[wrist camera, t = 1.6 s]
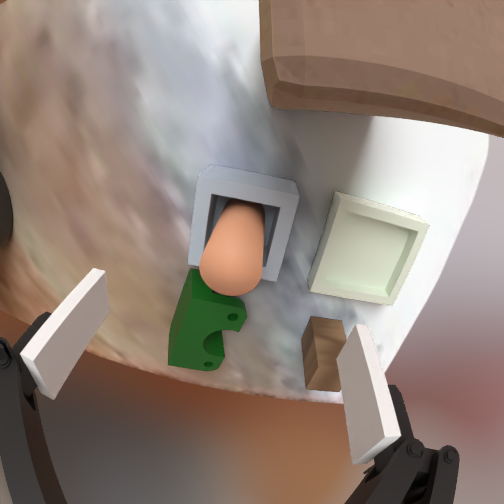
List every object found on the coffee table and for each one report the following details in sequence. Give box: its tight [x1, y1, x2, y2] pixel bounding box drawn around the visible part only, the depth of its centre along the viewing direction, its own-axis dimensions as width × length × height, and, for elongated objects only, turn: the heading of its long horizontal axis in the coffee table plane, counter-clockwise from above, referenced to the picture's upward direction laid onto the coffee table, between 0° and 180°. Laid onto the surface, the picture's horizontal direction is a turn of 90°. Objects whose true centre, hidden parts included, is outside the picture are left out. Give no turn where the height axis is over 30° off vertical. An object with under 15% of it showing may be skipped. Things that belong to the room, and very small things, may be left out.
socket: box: [188, 164, 300, 282], centre depth 26 cm, size 8×8×5 cm
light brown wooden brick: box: [301, 316, 347, 392], centre depth 31 cm, size 4×4×8 cm
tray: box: [307, 191, 429, 306], centre depth 28 cm, size 10×10×2 cm
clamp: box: [168, 268, 247, 371], centre depth 32 cm, size 12×6×9 cm, turn 151°
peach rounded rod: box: [199, 198, 265, 296], centre depth 23 cm, size 4×4×10 cm
